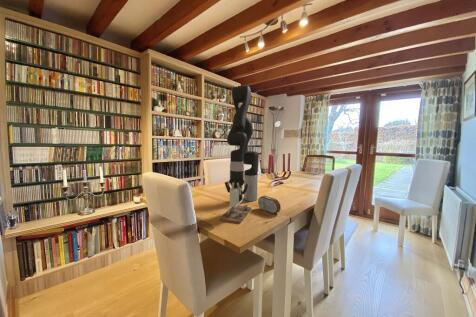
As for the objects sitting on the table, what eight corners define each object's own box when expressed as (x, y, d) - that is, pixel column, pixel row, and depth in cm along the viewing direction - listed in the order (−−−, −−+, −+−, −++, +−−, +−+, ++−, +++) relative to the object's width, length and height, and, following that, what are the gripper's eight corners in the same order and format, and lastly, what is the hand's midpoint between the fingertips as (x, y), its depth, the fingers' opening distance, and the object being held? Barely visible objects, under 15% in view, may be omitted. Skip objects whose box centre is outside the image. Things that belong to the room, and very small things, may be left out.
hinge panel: (233, 207, 124) (233, 200, 124) (251, 209, 121) (251, 202, 120) (219, 220, 104) (219, 212, 103) (240, 223, 100) (240, 215, 100)
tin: (280, 214, 113) (281, 199, 112) (277, 215, 111) (277, 200, 110) (260, 207, 124) (260, 194, 123) (257, 208, 122) (257, 194, 121)
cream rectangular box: (229, 206, 106) (229, 189, 106) (236, 200, 118) (237, 185, 117) (235, 207, 105) (236, 190, 104) (242, 200, 117) (242, 185, 116)
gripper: (222, 169, 108) (221, 201, 110) (247, 171, 104) (247, 204, 106) (227, 168, 116) (227, 197, 117) (251, 169, 111) (250, 200, 113)
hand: (236, 200), depth 111 cm, fingers closed on cream rectangular box, 3 cm apart
